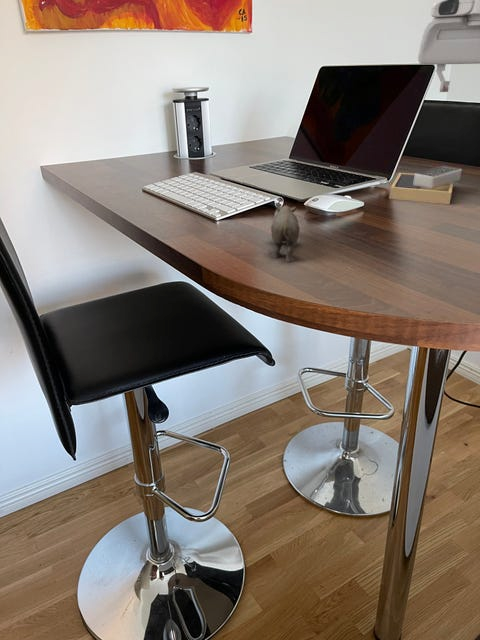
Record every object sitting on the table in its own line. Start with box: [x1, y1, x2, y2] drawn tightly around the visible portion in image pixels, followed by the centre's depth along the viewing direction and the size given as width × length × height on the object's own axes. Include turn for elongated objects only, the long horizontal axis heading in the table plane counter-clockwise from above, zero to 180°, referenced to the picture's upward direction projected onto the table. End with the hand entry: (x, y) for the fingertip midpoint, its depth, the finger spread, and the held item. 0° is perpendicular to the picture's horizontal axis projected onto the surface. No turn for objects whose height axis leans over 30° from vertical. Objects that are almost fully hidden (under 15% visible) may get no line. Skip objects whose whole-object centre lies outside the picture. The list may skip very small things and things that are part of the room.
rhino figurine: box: [270, 204, 300, 263], centre depth 75 cm, size 4×14×6 cm, turn 175°
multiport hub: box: [413, 165, 463, 189], centre depth 100 cm, size 4×11×2 cm, turn 131°
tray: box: [388, 172, 454, 205], centre depth 102 cm, size 14×11×2 cm
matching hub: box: [396, 174, 420, 189], centre depth 103 cm, size 11×4×2 cm, turn 158°
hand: (471, 91), depth 92 cm, fingers open, 8 cm apart
